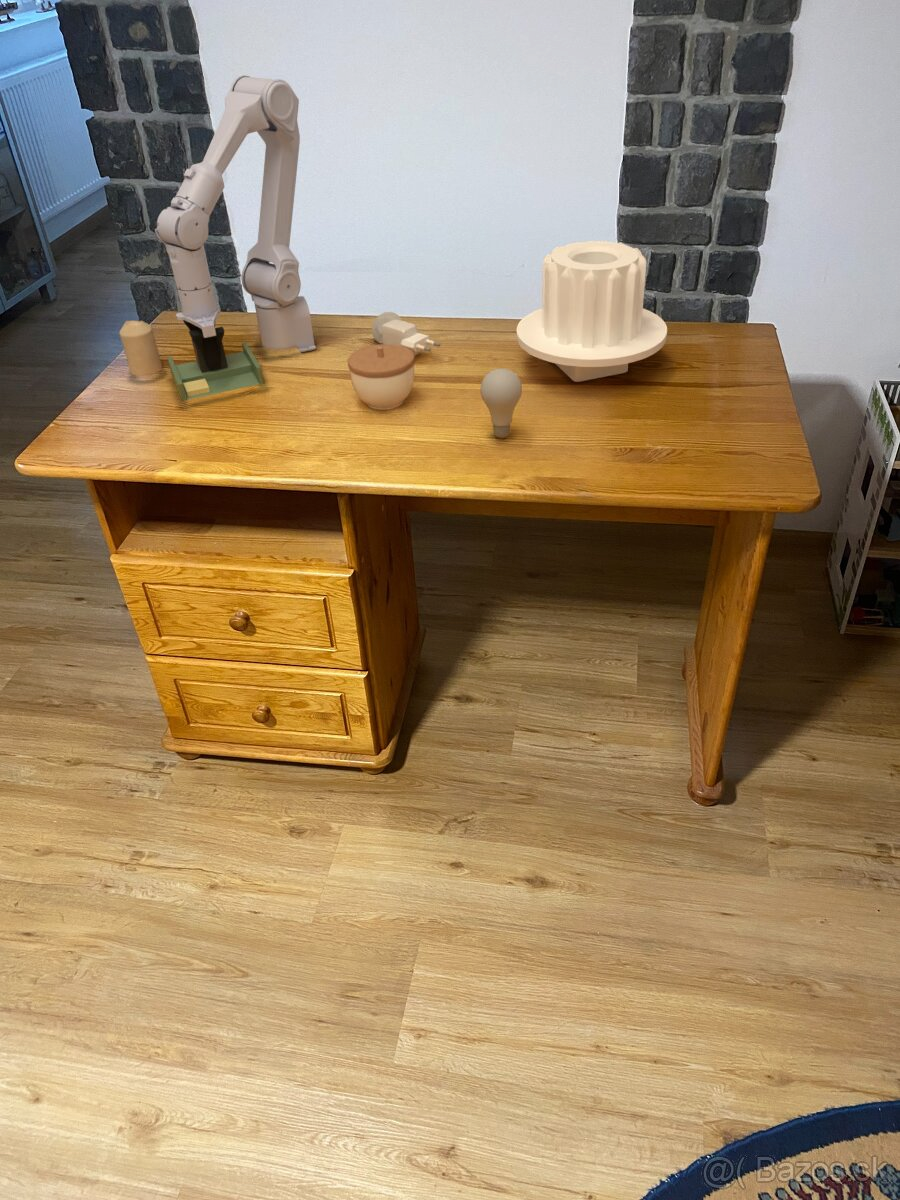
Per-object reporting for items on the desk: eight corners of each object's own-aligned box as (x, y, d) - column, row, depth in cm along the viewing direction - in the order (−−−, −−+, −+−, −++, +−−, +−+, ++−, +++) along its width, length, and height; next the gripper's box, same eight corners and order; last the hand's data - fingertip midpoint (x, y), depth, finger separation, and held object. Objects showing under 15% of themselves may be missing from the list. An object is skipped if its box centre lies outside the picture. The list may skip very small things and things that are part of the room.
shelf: (250, 364, 165) (246, 341, 162) (265, 390, 156) (261, 367, 153) (172, 380, 161) (167, 357, 159) (183, 407, 152) (177, 384, 150)
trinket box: (428, 392, 152) (424, 338, 146) (399, 421, 145) (393, 365, 139) (372, 383, 156) (366, 330, 150) (341, 410, 149) (333, 356, 143)
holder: (222, 357, 161) (217, 333, 159) (228, 367, 158) (222, 342, 155) (197, 362, 160) (191, 338, 157) (201, 372, 157) (195, 348, 154)
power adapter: (445, 360, 162) (443, 329, 158) (427, 370, 159) (424, 338, 155) (398, 346, 168) (396, 315, 164) (380, 355, 165) (377, 324, 161)
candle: (168, 369, 165) (154, 315, 159) (157, 382, 161) (142, 327, 154) (139, 369, 166) (124, 315, 159) (127, 382, 161) (112, 328, 155)
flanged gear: (621, 328, 169) (629, 222, 157) (690, 382, 150) (705, 266, 138) (496, 351, 164) (494, 244, 152) (551, 410, 145) (553, 293, 133)
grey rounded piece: (409, 316, 172) (400, 307, 167) (410, 348, 171) (401, 340, 167) (378, 320, 173) (369, 311, 168) (379, 352, 173) (370, 344, 168)
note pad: (206, 383, 156) (205, 378, 156) (210, 392, 153) (209, 387, 153) (184, 388, 155) (182, 382, 155) (187, 397, 152) (186, 391, 152)
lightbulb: (509, 451, 136) (509, 382, 129) (474, 441, 138) (472, 374, 131) (529, 433, 139) (529, 366, 133) (494, 424, 142) (493, 358, 135)
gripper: (163, 275, 155) (182, 351, 163) (176, 303, 144) (196, 383, 152) (204, 268, 156) (221, 344, 165) (220, 295, 146) (237, 374, 154)
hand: (211, 362), depth 159 cm, fingers closed on holder, 4 cm apart
